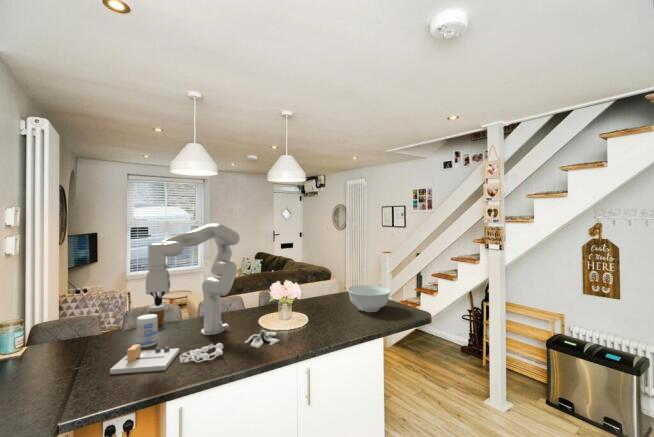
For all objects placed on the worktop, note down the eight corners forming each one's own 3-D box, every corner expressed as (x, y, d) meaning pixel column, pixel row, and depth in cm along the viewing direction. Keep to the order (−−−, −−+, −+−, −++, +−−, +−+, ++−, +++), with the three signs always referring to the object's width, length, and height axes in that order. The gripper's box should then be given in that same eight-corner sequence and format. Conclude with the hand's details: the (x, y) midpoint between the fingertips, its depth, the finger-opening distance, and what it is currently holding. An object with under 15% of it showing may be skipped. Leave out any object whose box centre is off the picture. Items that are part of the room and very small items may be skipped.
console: (179, 352, 149) (179, 345, 149) (165, 370, 131) (165, 362, 131) (130, 355, 145) (130, 348, 145) (109, 374, 127) (109, 365, 127)
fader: (140, 354, 140) (140, 343, 140) (134, 360, 134) (134, 349, 134) (133, 355, 140) (133, 344, 140) (127, 361, 134) (127, 349, 134)
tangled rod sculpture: (176, 370, 133) (176, 361, 133) (181, 354, 147) (181, 346, 147) (222, 362, 139) (222, 354, 139) (223, 347, 153) (223, 339, 153)
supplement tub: (146, 349, 152) (146, 320, 152) (131, 347, 155) (131, 318, 155) (161, 341, 162) (161, 314, 162) (148, 339, 164) (148, 313, 165)
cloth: (274, 332, 177) (274, 321, 177) (285, 343, 161) (285, 331, 161) (235, 339, 166) (235, 328, 166) (244, 352, 150) (244, 339, 150)
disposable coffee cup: (166, 325, 187) (166, 306, 187) (148, 328, 181) (148, 309, 181) (164, 321, 195) (164, 303, 195) (147, 324, 189) (147, 305, 189)
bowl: (399, 308, 221) (399, 288, 221) (374, 319, 197) (374, 297, 198) (364, 300, 243) (364, 282, 243) (337, 309, 220) (337, 289, 220)
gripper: (176, 266, 153) (177, 302, 153) (144, 267, 150) (145, 304, 150) (171, 268, 145) (172, 306, 145) (137, 270, 142) (138, 308, 143)
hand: (158, 305), depth 148 cm, fingers closed
